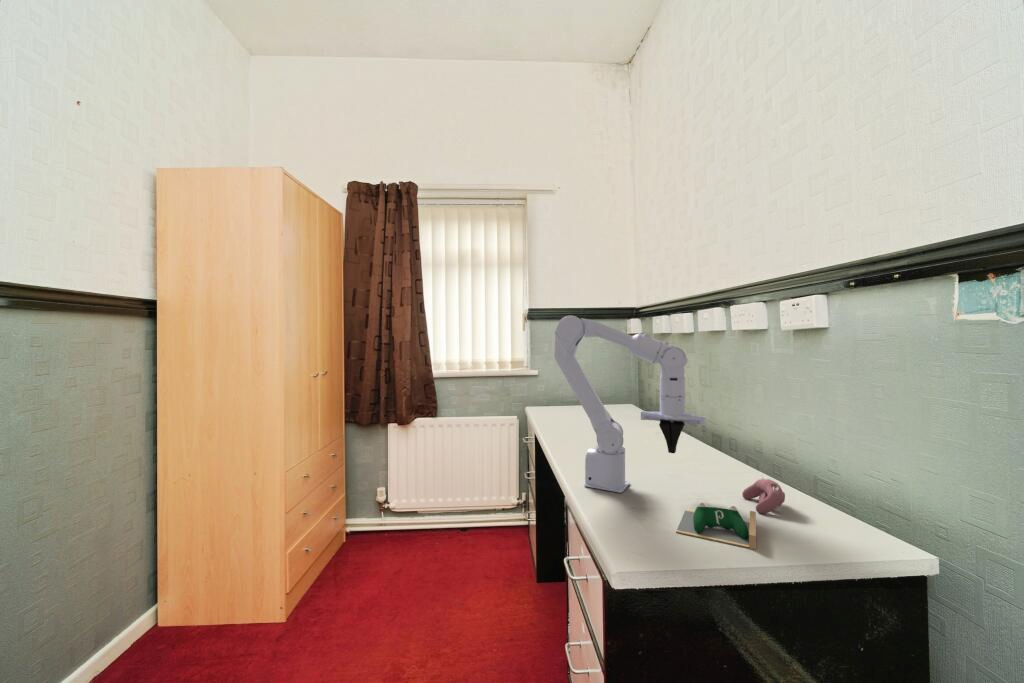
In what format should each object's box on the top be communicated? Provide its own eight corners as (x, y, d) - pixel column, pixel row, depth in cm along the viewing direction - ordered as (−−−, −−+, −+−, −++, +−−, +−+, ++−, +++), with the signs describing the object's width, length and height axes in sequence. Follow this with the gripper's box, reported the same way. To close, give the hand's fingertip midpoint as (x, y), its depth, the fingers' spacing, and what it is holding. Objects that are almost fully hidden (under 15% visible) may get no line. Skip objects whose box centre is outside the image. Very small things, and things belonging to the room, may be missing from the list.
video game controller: (776, 523, 87) (793, 494, 87) (755, 511, 88) (771, 483, 88) (758, 505, 97) (773, 479, 96) (739, 495, 98) (754, 469, 97)
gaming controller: (746, 545, 78) (741, 513, 82) (750, 536, 75) (744, 504, 79) (693, 538, 81) (690, 507, 85) (694, 529, 78) (692, 498, 82)
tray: (676, 532, 79) (676, 519, 79) (685, 510, 90) (685, 499, 90) (755, 549, 73) (755, 536, 73) (755, 523, 83) (755, 511, 83)
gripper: (637, 395, 102) (637, 451, 102) (703, 399, 95) (703, 460, 95) (644, 392, 108) (644, 445, 108) (706, 396, 101) (706, 453, 101)
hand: (672, 452), depth 102 cm, fingers closed
